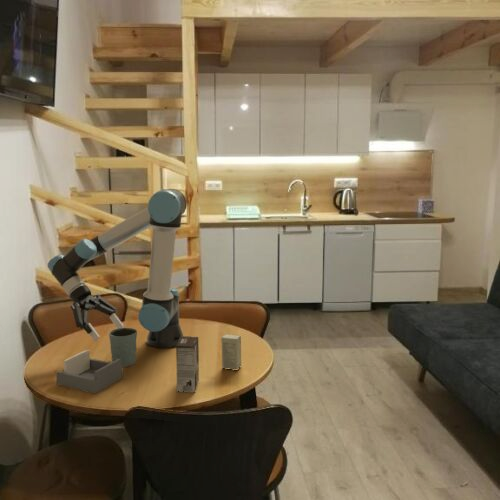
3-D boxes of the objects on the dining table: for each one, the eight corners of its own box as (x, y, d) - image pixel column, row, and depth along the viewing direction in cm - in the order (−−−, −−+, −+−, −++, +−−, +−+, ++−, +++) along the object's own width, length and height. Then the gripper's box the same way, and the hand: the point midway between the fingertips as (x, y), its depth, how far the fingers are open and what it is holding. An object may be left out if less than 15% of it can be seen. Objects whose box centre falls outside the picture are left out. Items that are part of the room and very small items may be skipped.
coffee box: (180, 380, 167) (180, 335, 164) (199, 380, 167) (199, 336, 164) (176, 392, 158) (175, 345, 155) (195, 392, 158) (195, 345, 155)
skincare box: (241, 367, 179) (242, 335, 177) (237, 371, 175) (237, 339, 172) (225, 364, 181) (225, 333, 179) (221, 369, 177) (221, 337, 175)
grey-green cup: (112, 369, 175) (110, 337, 173) (108, 359, 184) (107, 329, 182) (140, 365, 179) (139, 334, 177) (135, 355, 188) (134, 326, 187)
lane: (56, 384, 163) (55, 364, 161) (86, 369, 175) (85, 350, 174) (95, 393, 156) (94, 373, 155) (123, 377, 169) (122, 358, 168)
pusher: (63, 380, 163) (62, 360, 162) (87, 367, 173) (86, 349, 172) (66, 380, 162) (65, 361, 161) (89, 368, 173) (89, 350, 171)
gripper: (94, 289, 198) (125, 329, 195) (47, 304, 176) (80, 349, 172) (104, 277, 195) (135, 318, 192) (57, 291, 173) (91, 338, 169)
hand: (109, 333), depth 182 cm, fingers open, 13 cm apart
